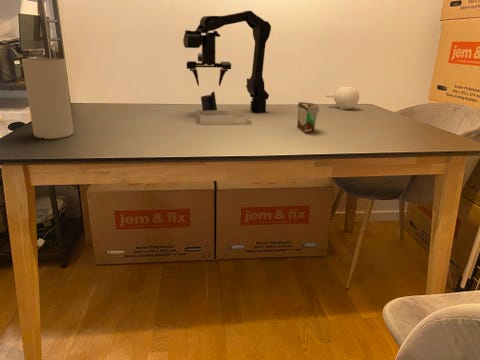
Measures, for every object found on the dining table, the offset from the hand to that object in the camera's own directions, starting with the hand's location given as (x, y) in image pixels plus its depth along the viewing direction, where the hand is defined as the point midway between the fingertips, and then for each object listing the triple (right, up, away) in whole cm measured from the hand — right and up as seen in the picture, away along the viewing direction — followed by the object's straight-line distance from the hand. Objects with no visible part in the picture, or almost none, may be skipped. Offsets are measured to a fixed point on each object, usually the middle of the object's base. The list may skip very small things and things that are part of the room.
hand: (208, 85), depth 173 cm
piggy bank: (+66, -4, +30) cm, 73 cm away
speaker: (0, -12, +4) cm, 13 cm away
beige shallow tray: (+7, -16, -7) cm, 19 cm away
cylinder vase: (-50, -26, -36) cm, 67 cm away
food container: (+40, -22, -19) cm, 49 cm away
